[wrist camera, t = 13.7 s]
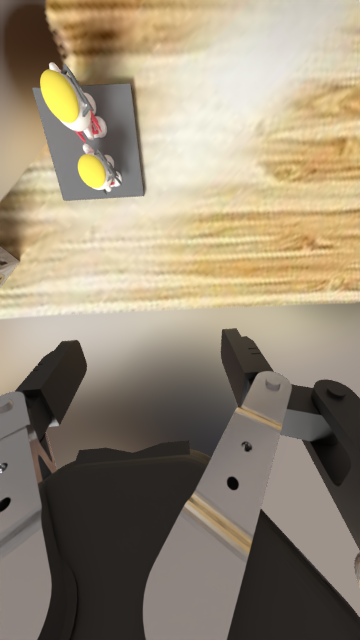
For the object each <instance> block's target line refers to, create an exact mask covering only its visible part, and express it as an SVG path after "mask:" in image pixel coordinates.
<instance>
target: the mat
mask: <svg viewBox="0 0 360 640" xmlns="http://www.w3.org/2000/svg"><path fill="white" fill-rule="evenodd" d="M80 88H81V90H82V91H83V93H88V94H89V95H90V96H91V97H92V98H93V99H94V101H95V104H96V113H95V115H94V116H98V117H100V118H102V119H103V120H104V121H105V123H106V126H107V133H106V135H105V136H104V137H102V138H100V137H98V138H94V139H93V140H89V139H88V137H87V136H86V134H85V133H84V131H82V133H83V137H84V138H85V141H86V143H85V142H84V141H83V140H82V139H81V138H80V136H79V135H78V134H77V133H76V132H75V131H74V130H72V129H70V128H68V127H67V126H65V125H64V124H63V123H62V122H61V121H60V120H59V119H58V118H57V117H56V116H55V115H54V114H53V113H52V112H51V110H50V109H49V107H48V106H47V104H46V102H45V100H44V98H43V95H42V91H41V88H32V89H33V92H34V96H35V99H36V103H37V107H38V110H39V114H40V117H41V121H42V124H43V128H44V132H45V135H46V139H47V143H48V146H49V150H50V153H51V157H52V161H53V164H54V168H55V171H56V175H57V178H58V182H59V186H60V189H61V193H62V196H63V200H64V201H70V200H87V199H103V198H120V197H136V196H144V191H143V183H142V174H141V166H140V157H139V149H138V140H137V132H136V123H135V115H134V106H133V98H132V89H131V85H130V83H127V84H106V85H85V86H80ZM91 120H92V119H91ZM84 144H88V145H89V146H90V147H91V148H92V149H93V150H94V152H96V151H97V149H99V150H100V151H101V152H102V153H103V154H104V155H109V156H111V157H112V159H113V161H114V170H115V171H117V172H119V173H120V174H121V177H122V182H121V184H122V186H121V185H119V186H117V187H115V186H114V187H111V191H110V192H108V191H106V193H107V195H105V194H104V193H103V192H102V191H101V190H97V189H94V188H92V187H90V186H88V185H87V184H86V183H85V182H84V181H83V180H82V178H81V177H80V174H79V171H78V161H79V159H80V157H81V156H83V155H85V154H86V153H85V151H84V150H83V145H84ZM98 154H99V153H98ZM99 155H100V154H99ZM105 190H106V189H105Z"/></svg>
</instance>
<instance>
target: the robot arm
mask: <svg viewBox="0 0 360 640" xmlns="http://www.w3.org/2000/svg"><path fill="white" fill-rule="evenodd" d="M221 359H222V363H223V366H224V369H225V371H226V374H227V376H228V379H229V382H230V385H231V388H232V391H233V393H234V396H235V399H236V402H237V404H238V407H237V408H236V410H235V412H234V414H233V416H232V418H231V420H230V422H229V424H228V426H227V428H226V430H225V432H224V434H223V436H222V438H221V440H220V442H219V444H218V446H217V448H216V450H215V452H214V454H213V456H212V458H210V457H209V456H207V455H205V454H203V453H201V452H198V451H195V450H190V448H189V441H179V442H168V443H161V444H158V445H155V446H152V447H149V448H146V449H144V450H141V451H138V452H135V453H130V452H125V451H119V450H114V449H109V448H99V449H88V450H79V453H78V455H77V458H76V461H73V462H71V463H69V464H67V465H65V466H63V467H61V468H60V469H58V470H57V467H56V464H55V460H54V457H53V453H52V450H51V447H50V443H49V439H48V436H47V434H46V430H47V428H48V427H51V426H59V425H60V424H61V421H62V420H63V418H64V416H65V414H66V411H67V410H68V408H69V406H70V404H71V402H72V399H73V398H74V396H75V393H76V392H77V390H78V388H79V385H80V384H81V382H82V380H83V378H84V376H85V373H86V370H87V363H86V360H85V357H84V354H83V351H82V348H81V345H80V343H79V341H77V340H72V341H62V342H61V343H60V344H59V345H58V347H57V348H56V349H55V350H54V351H52V352H50V353H49V354H47V355H46V356H45V357H43V359H42V360H41V361H40V362H39V363H38V366H36V367H35V368H34V369H33V371H32V372H31V373H30V374H29V375H28V376H27V378H26V379H25V380H24V381H23V382H22V384H21V385H20V386H19V387H18V388H17V389H16V391H15V392H9V393H6V394H4V395H1V396H0V640H360V617H359V616H358V615H357V613H356V612H355V611H354V609H353V608H352V607H351V606H350V605H349V604H348V602H347V601H346V600H345V599H344V598H343V597H342V596H341V595H340V593H339V592H338V591H337V590H336V589H335V588H334V587H333V586H332V585H331V584H330V583H329V582H328V581H327V579H326V578H325V577H324V576H323V575H322V574H321V573H320V572H319V571H318V570H317V569H316V568H315V566H314V565H313V564H312V563H311V562H310V561H309V560H308V559H307V558H306V557H305V556H304V555H303V554H302V552H301V551H299V549H298V548H297V547H296V546H295V545H294V544H293V543H292V542H291V541H290V540H289V538H288V537H287V536H286V535H285V534H284V533H283V532H282V531H281V530H280V529H279V528H278V527H277V525H276V524H275V523H274V522H273V521H272V520H271V519H270V518H269V517H268V516H267V515H266V514H265V513H264V511H263V510H262V509H261V505H262V501H263V497H264V494H265V490H266V486H267V482H268V479H269V475H270V471H271V467H272V463H273V459H274V456H275V452H276V448H277V444H278V440H279V436H280V435H285V436H289V437H293V438H297V439H302V441H303V443H304V445H305V446H306V449H307V450H308V452H309V454H310V456H311V458H312V460H313V462H314V464H315V466H316V468H317V469H318V471H319V473H320V475H321V477H322V479H323V481H324V483H325V485H326V487H327V488H328V491H329V492H330V494H331V496H332V498H333V500H334V502H335V504H336V505H337V508H338V510H339V511H340V513H341V515H342V517H343V519H344V521H345V523H346V525H347V527H348V529H349V531H350V533H351V534H352V536H353V538H354V540H355V542H356V544H357V546H358V548H359V550H360V398H359V397H358V396H357V395H356V394H355V393H354V392H353V391H352V390H351V389H350V388H348V387H347V386H345V385H343V384H341V383H339V382H335V381H332V380H319V381H317V382H316V383H315V385H314V388H309V387H303V386H297V385H292V384H291V383H290V382H289V380H288V379H287V378H285V377H284V376H283V375H281V374H279V373H276V372H274V371H273V370H272V368H271V367H270V365H269V364H268V362H267V361H266V359H265V358H264V356H263V355H262V354H261V352H260V350H259V349H258V347H257V346H256V344H255V343H254V341H253V340H251V339H250V338H248V337H247V336H245V337H241V335H240V334H239V332H238V330H237V329H236V328H234V329H223V330H222V340H221ZM354 565H355V566H354V568H355V575H356V579H357V582H358V584H359V587H360V552H359V553H358V554H357V556H356V558H355V563H354Z"/></svg>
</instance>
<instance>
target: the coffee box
mask: <svg viewBox="0 0 360 640" xmlns="http://www.w3.org/2000/svg"><path fill="white" fill-rule="evenodd" d="M18 263H19V261H18V260H17V259H16V258H15V257H13V256H12V255H11V254H9V253H8V252H7V251H6V250H4V249H3V248H2V247H1V246H0V287H1V286H2V285H3V283H4V282H5V281H6V279H7V278H8V277H9V275H10V274H11V273H12V271H13V270H14V269H15V267H16V266H17V265H18Z"/></svg>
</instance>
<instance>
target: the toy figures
mask: <svg viewBox="0 0 360 640" xmlns="http://www.w3.org/2000/svg"><path fill="white" fill-rule="evenodd" d="M49 67H50V69H49V70H46V71H44V72H43V74H42V76H41V80H40V86H41V91H42V95H43V98H44V100H45V102H46V104H47V106H48V107H49V109H50V110H51V112H52V113H53V114H54V115H55V116H56V117H57V118H58V119H59V120H60V121H61V122H62V123H63V124H64V125H65V126H67V127H68V128H70V129H72V130H74V131H75V132H76V133H77V134H78V135H79V136H80V138H81V139H82V140H83V141H84V142H85V143H86V141H85V138H84V137H83V133H82V131H84V133H85V134H86V136H87V137H88V139H89V140H93V139H94V138H98V137H100V138H102V137H104V136H105V135H106V133H107V126H106V123H105V121H104V120H103V119H102V118H100V117H98V116H94V115H95V113H96V104H95V101H94V99H93V98H92V97H91V96H90V95H89V94H88V93H83V91H82V90H81V88H80V85H79V84H78V82H77V80H76V78H75V77H74V75H73V73H72V72H71V71H70V69H69V68H68V67H67V66H66V64H64V68H63V69H62V71H61V70H60V69H59V68H58V67H57V65H56V64H54V63H50V64H49ZM67 72H68V74H69V75H70V77H71V78H70V77H69V76H67V75H66V73H67ZM91 119H92V120H91ZM83 150H84V151H85V153H86V154H85V155H83V156H81V157H80V159H79V161H78V171H79V174H80V177H81V178H82V180H83V181H84V182H85V183H86V184H87V185H88V186H90V187H92V188H94V189H97V190H101V191H102V192H103V193H104V194H105V195H107V193H106V191H108V192H110V191H111V187H114V186H115V187H117V186H119V185H121V186H122V184H121V182H122V177H121V174H120V173H119V172H117V171H115V170H114V161H113V159H112V157H111V156H109V155H104V154H103V153H102V152H101V151H100V150H99V149H97V151H96V152H94V150H93V149H92V148H91V147H90V146H89V145H88V144H84V145H83ZM98 153H99V154H100V155H99V154H98ZM105 189H106V190H105Z"/></svg>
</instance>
